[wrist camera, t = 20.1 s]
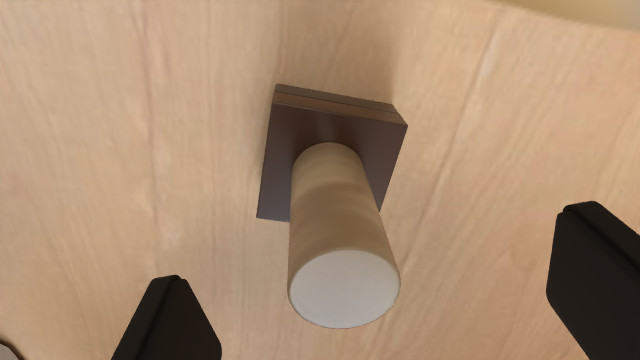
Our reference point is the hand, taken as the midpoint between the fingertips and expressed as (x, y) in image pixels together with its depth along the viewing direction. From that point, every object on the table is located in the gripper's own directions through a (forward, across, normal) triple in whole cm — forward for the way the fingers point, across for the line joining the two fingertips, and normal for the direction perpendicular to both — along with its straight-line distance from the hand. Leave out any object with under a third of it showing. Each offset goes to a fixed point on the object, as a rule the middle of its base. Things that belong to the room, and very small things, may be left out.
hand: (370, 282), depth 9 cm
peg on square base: (+8, +1, 0) cm, 8 cm away
